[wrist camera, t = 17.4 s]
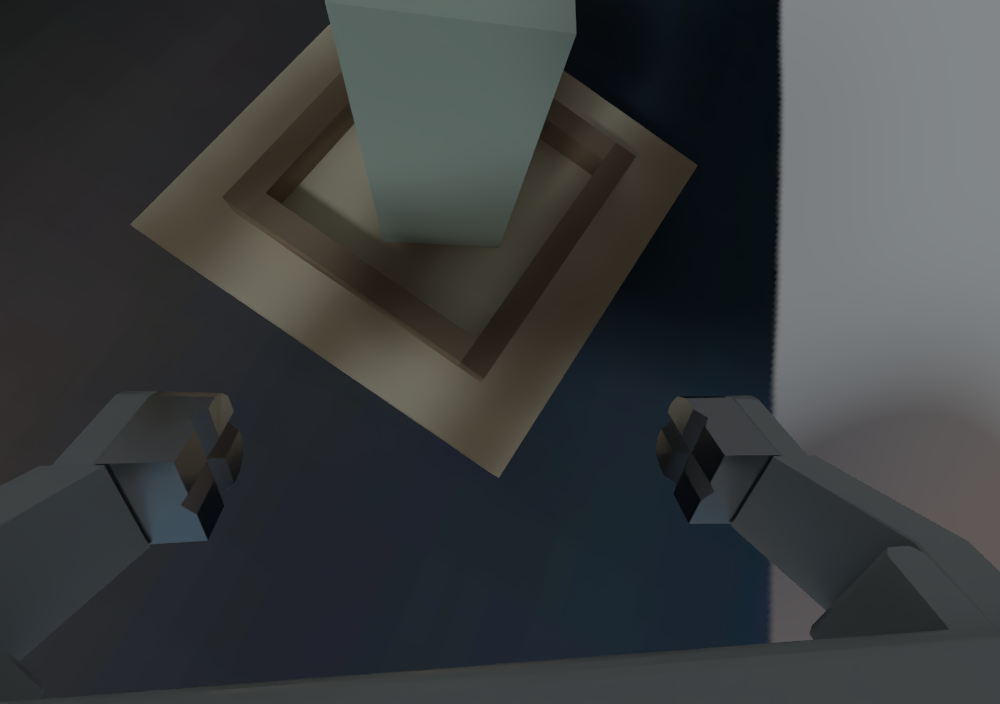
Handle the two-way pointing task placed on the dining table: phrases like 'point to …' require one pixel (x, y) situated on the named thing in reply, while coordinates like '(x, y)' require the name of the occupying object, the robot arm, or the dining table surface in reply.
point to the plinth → (421, 252)
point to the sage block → (449, 106)
